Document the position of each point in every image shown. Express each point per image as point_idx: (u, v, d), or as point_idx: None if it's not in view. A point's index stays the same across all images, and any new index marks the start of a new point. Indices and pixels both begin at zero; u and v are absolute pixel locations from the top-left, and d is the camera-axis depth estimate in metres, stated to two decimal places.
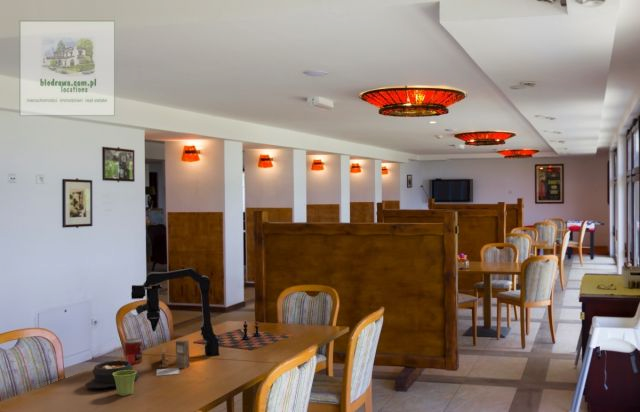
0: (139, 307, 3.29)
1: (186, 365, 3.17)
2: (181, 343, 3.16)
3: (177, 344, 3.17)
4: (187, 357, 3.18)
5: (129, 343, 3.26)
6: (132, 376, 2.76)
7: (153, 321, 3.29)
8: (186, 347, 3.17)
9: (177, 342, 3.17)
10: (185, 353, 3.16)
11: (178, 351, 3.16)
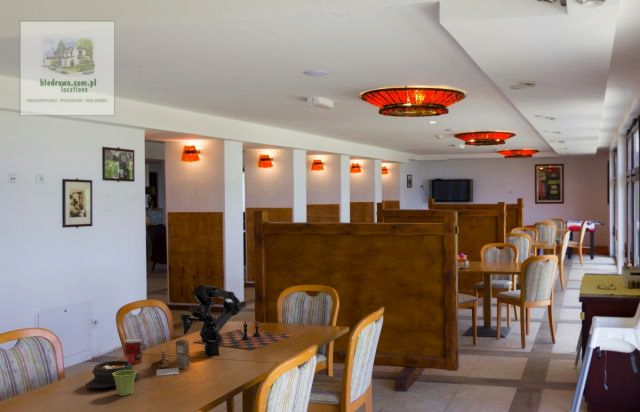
0: (203, 306, 3.27)
1: (186, 365, 3.17)
2: (181, 343, 3.16)
3: (177, 344, 3.16)
4: (187, 357, 3.18)
5: (129, 343, 3.26)
6: (132, 376, 2.76)
7: (206, 326, 3.26)
8: (186, 347, 3.17)
9: (177, 342, 3.16)
10: (185, 353, 3.16)
11: (178, 351, 3.16)
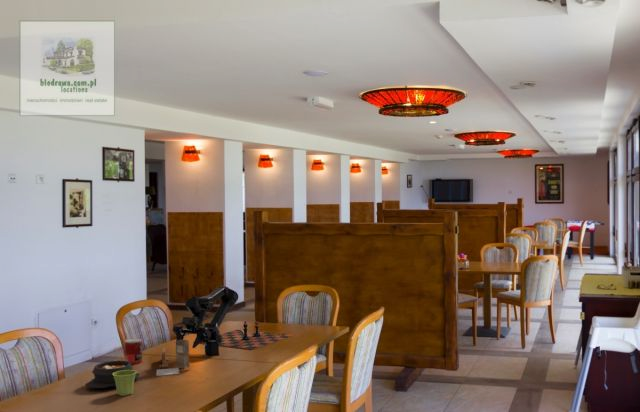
0: (196, 318, 3.21)
1: (186, 365, 3.17)
2: (181, 343, 3.16)
3: (177, 344, 3.16)
4: (187, 357, 3.18)
5: (129, 343, 3.26)
6: (132, 376, 2.76)
7: (199, 338, 3.20)
8: (186, 347, 3.17)
9: (177, 342, 3.16)
10: (185, 353, 3.16)
11: (178, 351, 3.16)
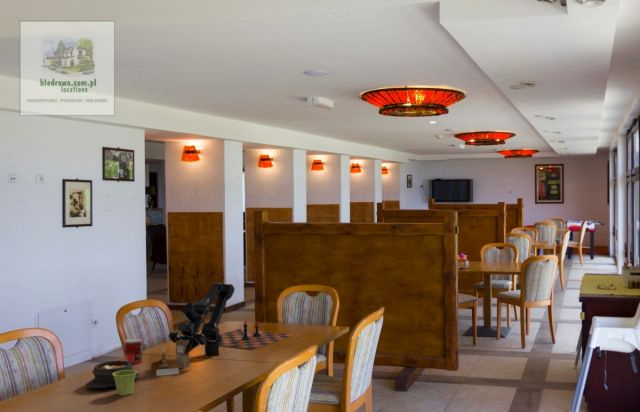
0: (192, 324, 3.18)
1: (186, 365, 3.17)
2: (181, 343, 3.16)
3: (177, 344, 3.16)
4: (187, 357, 3.18)
5: (129, 343, 3.26)
6: (132, 376, 2.76)
7: (191, 345, 3.18)
8: (186, 347, 3.17)
9: (177, 342, 3.16)
10: None
11: (178, 351, 3.16)
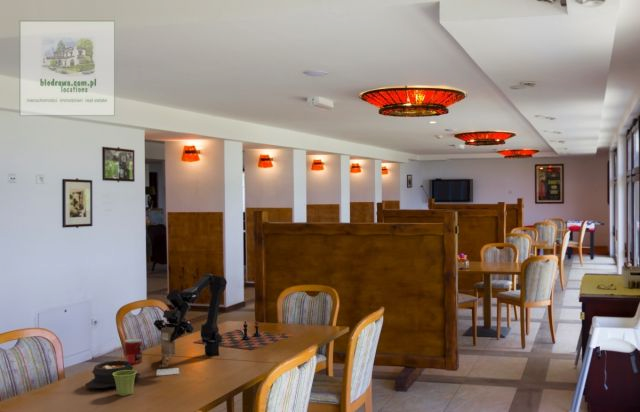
0: (178, 312, 3.10)
1: (171, 353, 3.09)
2: (166, 330, 3.08)
3: (162, 331, 3.09)
4: (172, 345, 3.10)
5: (129, 343, 3.26)
6: (132, 376, 2.76)
7: (177, 332, 3.10)
8: None
9: (162, 329, 3.09)
10: None
11: (163, 339, 3.08)
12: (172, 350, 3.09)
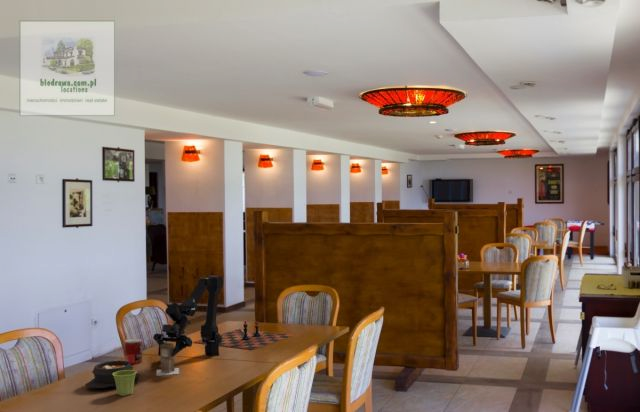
0: (177, 326, 3.10)
1: (171, 369, 3.08)
2: (166, 347, 3.07)
3: (162, 348, 3.08)
4: (172, 361, 3.09)
5: (129, 343, 3.26)
6: (132, 376, 2.76)
7: (178, 347, 3.10)
8: (171, 351, 3.09)
9: (162, 346, 3.08)
10: (170, 357, 3.08)
11: (162, 355, 3.08)
12: (172, 366, 3.09)
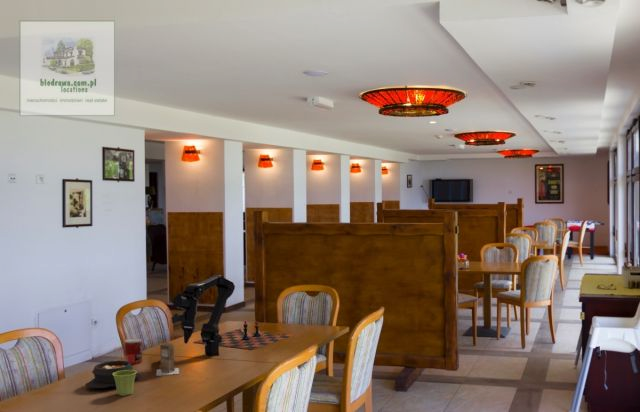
0: (175, 315, 3.22)
1: (171, 369, 3.08)
2: (166, 347, 3.07)
3: (162, 348, 3.08)
4: (172, 361, 3.09)
5: (129, 343, 3.26)
6: (132, 376, 2.76)
7: (186, 331, 3.20)
8: (171, 351, 3.09)
9: (162, 346, 3.08)
10: (170, 357, 3.08)
11: (162, 355, 3.08)
12: (172, 366, 3.09)
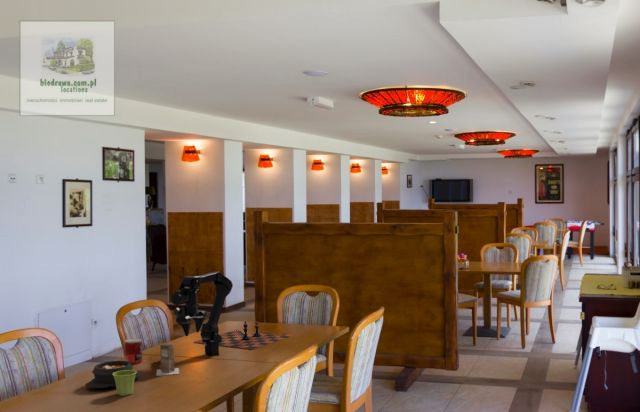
0: (175, 310, 3.28)
1: (171, 369, 3.08)
2: (166, 347, 3.07)
3: (162, 348, 3.08)
4: (172, 361, 3.09)
5: (129, 343, 3.26)
6: (132, 376, 2.76)
7: (185, 326, 3.24)
8: (171, 351, 3.09)
9: (162, 346, 3.08)
10: (170, 357, 3.08)
11: (162, 355, 3.08)
12: (172, 366, 3.09)
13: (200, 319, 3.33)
